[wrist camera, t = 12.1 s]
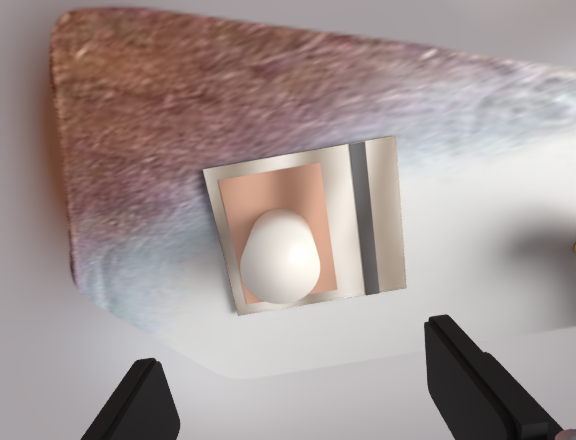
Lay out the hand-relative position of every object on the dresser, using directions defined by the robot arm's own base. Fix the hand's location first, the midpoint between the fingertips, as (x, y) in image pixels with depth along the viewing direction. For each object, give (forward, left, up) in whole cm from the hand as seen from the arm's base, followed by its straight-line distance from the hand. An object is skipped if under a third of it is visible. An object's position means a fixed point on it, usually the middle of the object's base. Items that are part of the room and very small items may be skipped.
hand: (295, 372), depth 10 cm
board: (-2, 0, -15) cm, 15 cm away
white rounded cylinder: (0, 0, -15) cm, 14 cm away
